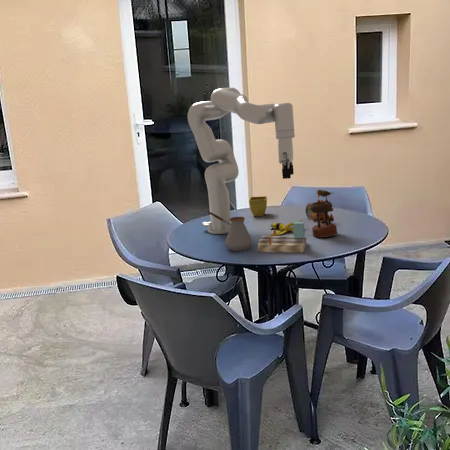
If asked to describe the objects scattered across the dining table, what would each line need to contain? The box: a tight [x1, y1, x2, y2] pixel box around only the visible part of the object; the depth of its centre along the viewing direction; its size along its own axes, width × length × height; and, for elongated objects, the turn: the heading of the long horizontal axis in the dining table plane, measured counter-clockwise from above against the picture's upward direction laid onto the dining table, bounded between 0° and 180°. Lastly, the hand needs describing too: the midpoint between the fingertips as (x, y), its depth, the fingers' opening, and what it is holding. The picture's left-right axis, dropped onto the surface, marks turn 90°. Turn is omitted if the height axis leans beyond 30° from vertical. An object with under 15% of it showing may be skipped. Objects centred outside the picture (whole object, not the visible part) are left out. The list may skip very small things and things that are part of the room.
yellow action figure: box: [268, 219, 304, 236], centre depth 241 cm, size 19×4×15 cm
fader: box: [292, 221, 306, 240], centre depth 213 cm, size 4×3×7 cm
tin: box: [305, 202, 329, 224], centre depth 253 cm, size 15×3×8 cm, turn 27°
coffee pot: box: [206, 210, 253, 252], centre depth 221 cm, size 21×12×15 cm, turn 55°
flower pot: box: [248, 195, 268, 217], centre depth 272 cm, size 9×9×9 cm
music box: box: [310, 189, 338, 238], centre depth 227 cm, size 15×11×20 cm
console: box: [257, 229, 307, 253], centre depth 216 cm, size 18×12×6 cm, turn 75°
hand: (288, 176), depth 217 cm, fingers open, 9 cm apart
